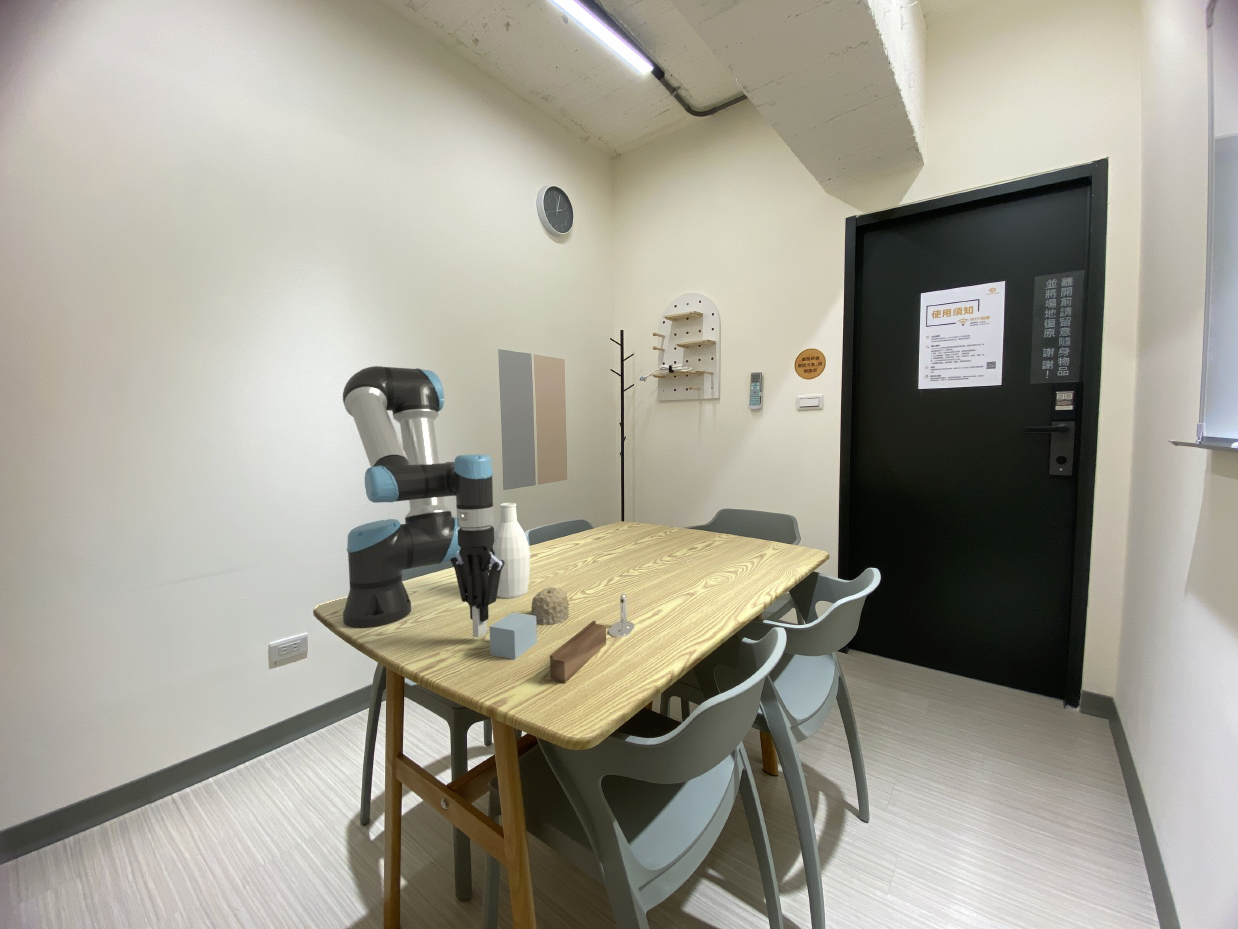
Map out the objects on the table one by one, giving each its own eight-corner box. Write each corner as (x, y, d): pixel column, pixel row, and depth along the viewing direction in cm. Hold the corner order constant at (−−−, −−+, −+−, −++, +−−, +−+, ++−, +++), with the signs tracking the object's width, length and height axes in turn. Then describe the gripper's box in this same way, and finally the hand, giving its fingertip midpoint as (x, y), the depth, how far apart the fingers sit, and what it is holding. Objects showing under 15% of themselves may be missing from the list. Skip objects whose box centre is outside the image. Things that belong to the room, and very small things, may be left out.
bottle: (503, 603, 125) (499, 508, 123) (483, 593, 133) (480, 504, 131) (538, 593, 132) (536, 503, 131) (518, 584, 140) (515, 499, 139)
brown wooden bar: (550, 680, 85) (549, 655, 85) (593, 641, 101) (593, 620, 100) (564, 683, 84) (564, 658, 84) (606, 644, 99) (605, 622, 99)
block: (490, 655, 96) (489, 626, 95) (513, 639, 103) (512, 612, 103) (515, 660, 93) (514, 630, 93) (537, 643, 101) (536, 615, 100)
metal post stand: (605, 636, 104) (616, 622, 111) (627, 638, 102) (636, 624, 110) (604, 602, 103) (616, 590, 111) (626, 604, 102) (636, 592, 109)
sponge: (549, 642, 110) (572, 609, 108) (517, 617, 111) (539, 584, 109) (562, 626, 119) (583, 595, 117) (532, 603, 120) (552, 572, 118)
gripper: (439, 528, 99) (444, 636, 101) (488, 532, 94) (492, 647, 96) (464, 522, 106) (468, 623, 108) (511, 525, 101) (515, 632, 102)
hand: (480, 634), depth 102 cm, fingers closed
